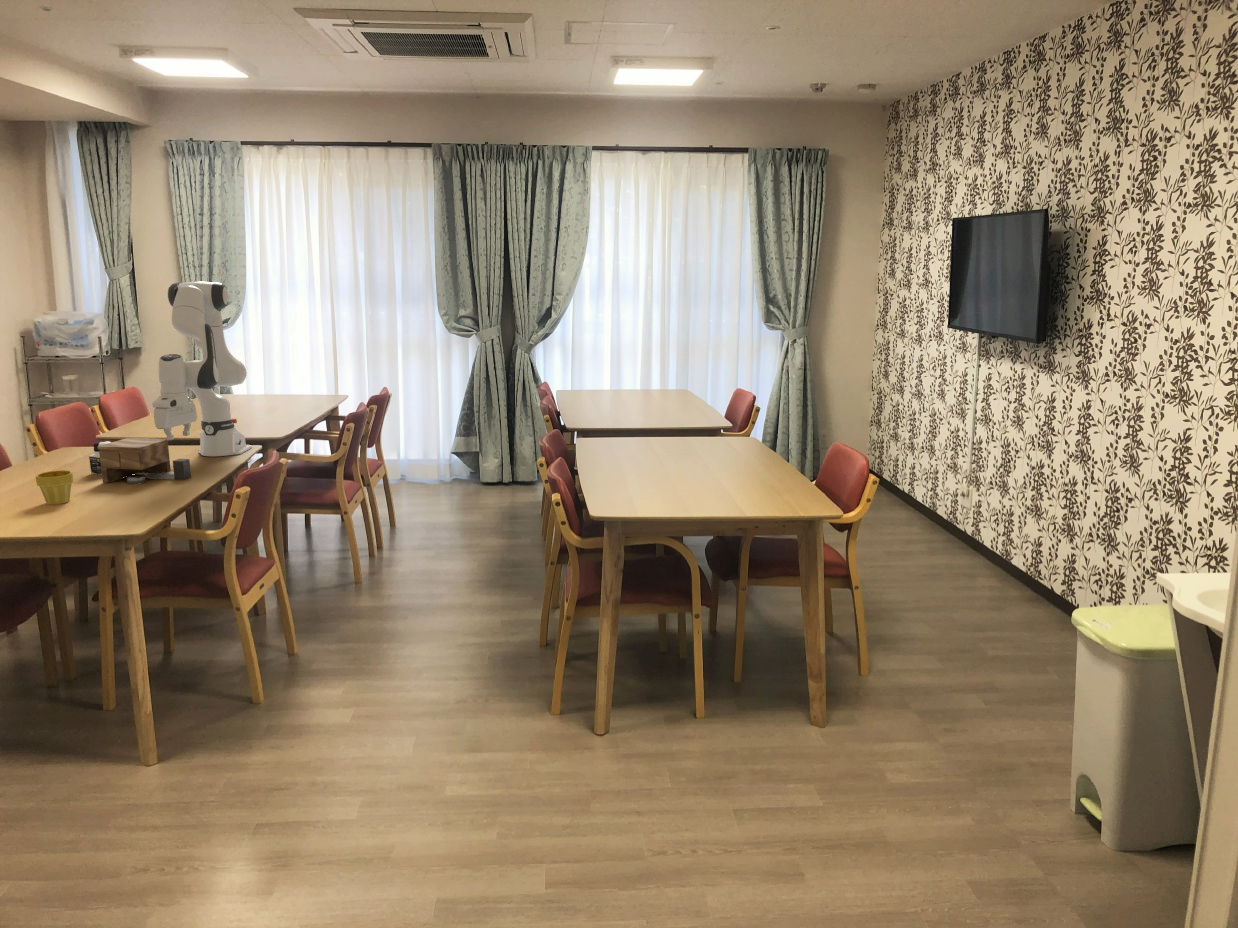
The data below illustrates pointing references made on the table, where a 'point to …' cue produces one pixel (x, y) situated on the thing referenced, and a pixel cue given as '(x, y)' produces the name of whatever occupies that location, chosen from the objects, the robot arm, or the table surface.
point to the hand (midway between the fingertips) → (178, 437)
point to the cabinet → (133, 457)
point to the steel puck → (136, 479)
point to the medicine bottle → (96, 458)
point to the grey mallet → (179, 473)
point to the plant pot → (55, 486)
